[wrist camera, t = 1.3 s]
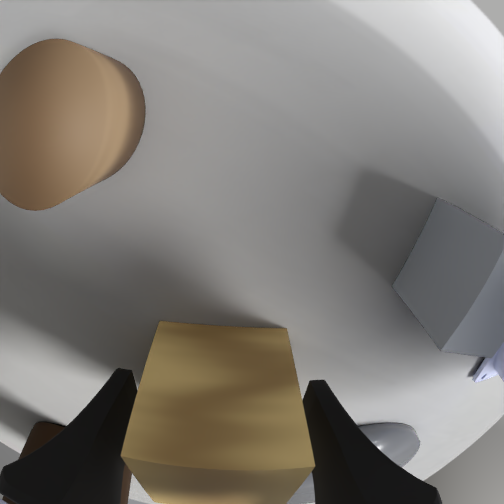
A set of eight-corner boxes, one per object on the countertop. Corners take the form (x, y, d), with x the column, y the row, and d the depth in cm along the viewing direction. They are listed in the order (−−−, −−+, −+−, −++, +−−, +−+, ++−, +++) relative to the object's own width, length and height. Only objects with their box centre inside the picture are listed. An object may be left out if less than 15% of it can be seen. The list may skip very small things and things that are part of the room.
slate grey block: (486, 232, 10) (545, 272, 6) (446, 304, 11) (491, 358, 8) (436, 196, 9) (509, 237, 6) (390, 285, 11) (440, 351, 7)
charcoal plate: (449, 404, 16) (454, 414, 15) (372, 483, 22) (374, 490, 22) (236, 434, 15) (236, 447, 14) (228, 499, 21) (228, 507, 20)
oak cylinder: (152, 50, 7) (116, 21, 4) (143, 183, 9) (105, 212, 6) (41, 69, 7) (-13, 63, 4) (39, 185, 8) (-13, 210, 6)
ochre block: (286, 327, 11) (315, 466, 6) (270, 401, 13) (282, 508, 8) (159, 320, 11) (120, 455, 5) (170, 395, 13) (154, 501, 8)
